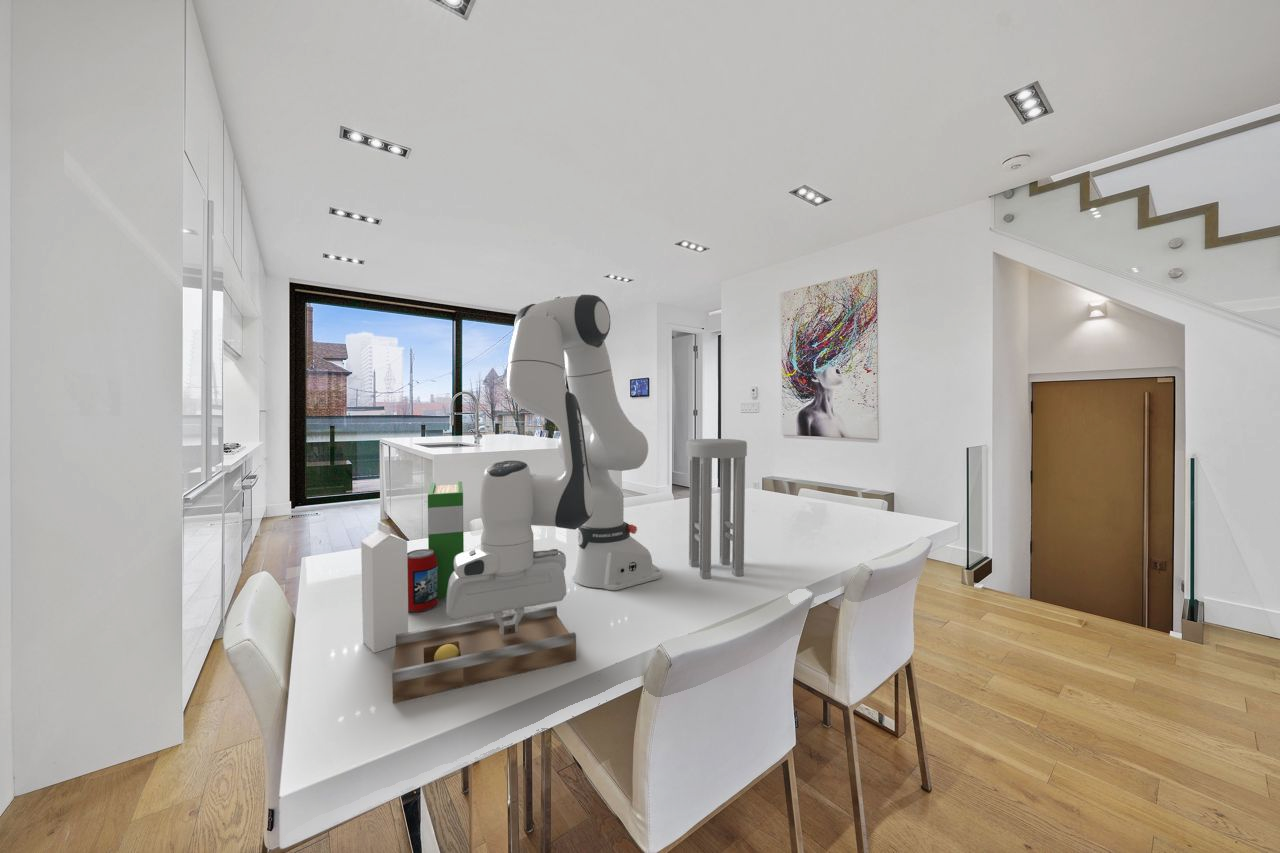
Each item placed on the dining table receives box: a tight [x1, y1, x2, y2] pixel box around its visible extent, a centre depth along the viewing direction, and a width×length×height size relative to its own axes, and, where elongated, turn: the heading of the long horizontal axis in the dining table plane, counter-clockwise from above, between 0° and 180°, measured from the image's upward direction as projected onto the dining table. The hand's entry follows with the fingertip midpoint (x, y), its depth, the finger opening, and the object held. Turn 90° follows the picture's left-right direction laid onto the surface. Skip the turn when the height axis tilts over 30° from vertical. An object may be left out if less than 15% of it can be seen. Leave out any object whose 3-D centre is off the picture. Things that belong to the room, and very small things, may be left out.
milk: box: [360, 521, 409, 654], centre depth 87 cm, size 6×6×22 cm
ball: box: [434, 644, 460, 662], centre depth 78 cm, size 4×4×4 cm
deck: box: [391, 605, 577, 704], centre depth 81 cm, size 28×13×4 cm, turn 115°
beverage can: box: [407, 548, 439, 613], centre depth 102 cm, size 7×7×12 cm
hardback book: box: [427, 481, 465, 600], centre depth 115 cm, size 18×7×24 cm, turn 21°
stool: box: [685, 438, 748, 580], centre depth 126 cm, size 16×16×35 cm
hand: (508, 632), depth 83 cm, fingers closed
